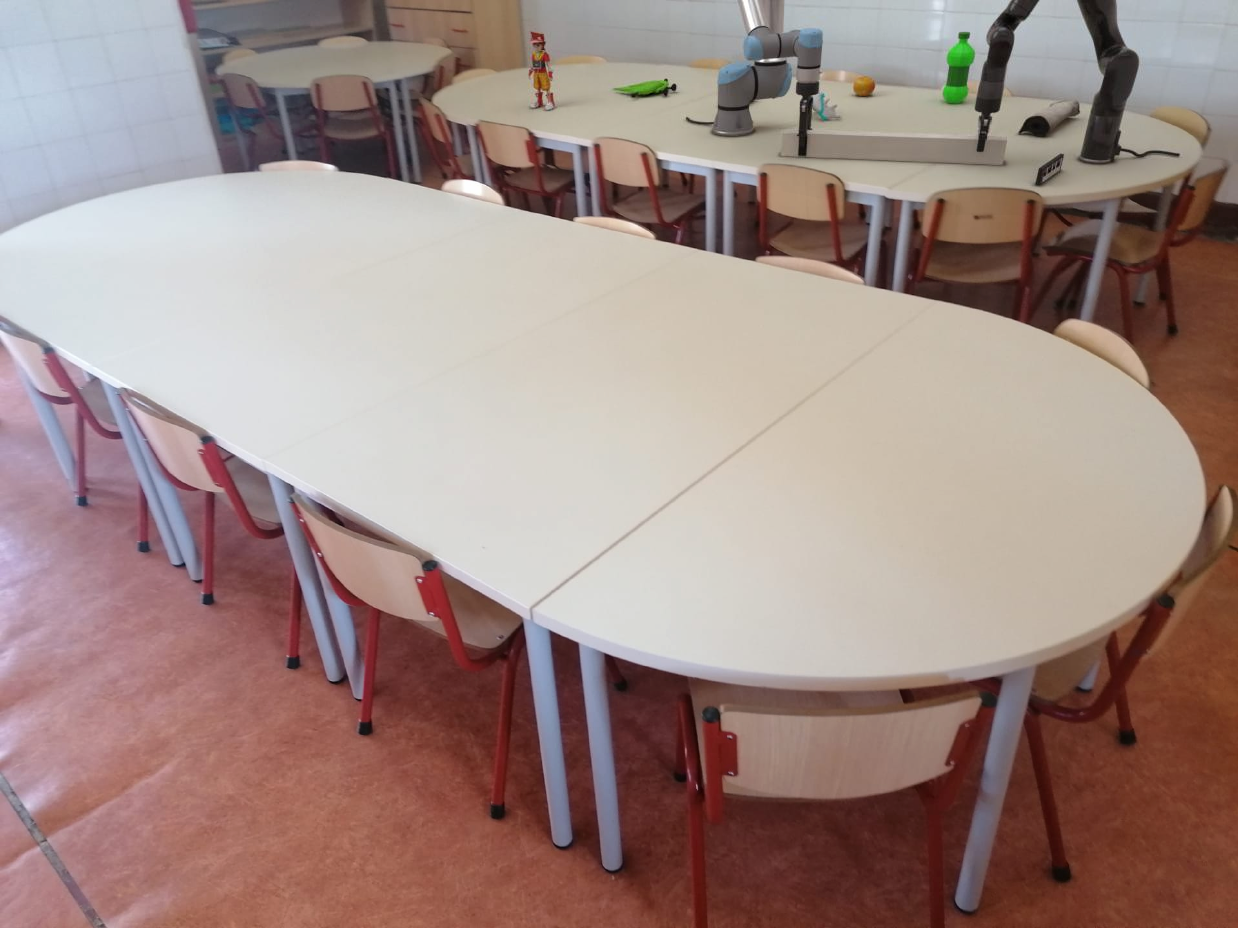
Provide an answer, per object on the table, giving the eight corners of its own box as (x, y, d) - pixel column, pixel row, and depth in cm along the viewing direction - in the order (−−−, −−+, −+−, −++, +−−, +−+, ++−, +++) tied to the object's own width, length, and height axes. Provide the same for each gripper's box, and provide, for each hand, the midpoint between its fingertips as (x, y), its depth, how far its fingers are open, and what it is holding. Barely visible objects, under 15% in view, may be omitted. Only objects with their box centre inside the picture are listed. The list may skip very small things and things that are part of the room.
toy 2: (686, 85, 398) (631, 84, 414) (685, 72, 395) (629, 72, 411) (651, 104, 381) (596, 103, 397) (650, 92, 378) (594, 91, 394)
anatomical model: (804, 89, 349) (829, 82, 348) (807, 116, 355) (832, 109, 354) (814, 99, 336) (840, 91, 335) (817, 126, 342) (843, 119, 341)
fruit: (848, 88, 368) (860, 70, 365) (850, 91, 375) (862, 74, 372) (865, 99, 366) (877, 81, 363) (867, 102, 374) (879, 85, 371)
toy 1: (525, 109, 381) (517, 32, 364) (534, 104, 388) (527, 28, 371) (550, 110, 377) (543, 32, 360) (559, 105, 384) (553, 28, 367)
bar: (780, 156, 308) (781, 132, 304) (782, 152, 311) (784, 129, 307) (1002, 165, 287) (1007, 140, 283) (1002, 161, 291) (1007, 136, 286)
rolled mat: (1047, 105, 331) (1071, 88, 323) (1061, 126, 332) (1085, 109, 324) (1014, 127, 314) (1039, 109, 306) (1028, 149, 314) (1054, 132, 306)
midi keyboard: (1039, 185, 269) (1043, 168, 266) (1035, 184, 270) (1038, 168, 267) (1060, 170, 279) (1064, 154, 277) (1056, 169, 280) (1060, 153, 277)
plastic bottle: (973, 101, 354) (984, 32, 339) (955, 106, 349) (966, 36, 335) (952, 97, 361) (962, 29, 346) (934, 102, 356) (944, 33, 342)
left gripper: (815, 87, 286) (810, 161, 299) (823, 75, 300) (818, 146, 313) (791, 87, 288) (787, 160, 302) (800, 75, 302) (796, 145, 315)
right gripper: (1002, 101, 273) (992, 155, 282) (1002, 90, 284) (992, 142, 293) (976, 100, 275) (967, 153, 284) (977, 89, 286) (968, 141, 295)
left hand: (803, 153), depth 307 cm, fingers closed on bar, 5 cm apart
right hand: (979, 148), depth 289 cm, fingers open, 8 cm apart
